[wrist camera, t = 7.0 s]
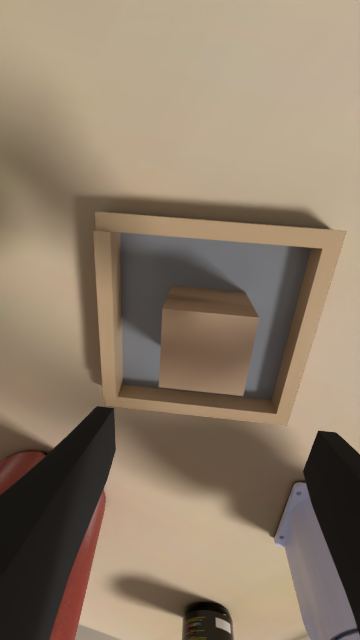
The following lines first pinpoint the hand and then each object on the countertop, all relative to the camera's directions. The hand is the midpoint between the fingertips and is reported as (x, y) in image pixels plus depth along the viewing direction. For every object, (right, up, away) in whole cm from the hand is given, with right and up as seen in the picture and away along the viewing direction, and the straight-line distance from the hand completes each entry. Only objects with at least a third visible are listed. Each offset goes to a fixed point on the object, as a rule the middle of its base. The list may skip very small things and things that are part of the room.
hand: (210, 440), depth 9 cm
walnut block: (+1, +4, +9) cm, 10 cm away
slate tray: (+1, +4, +10) cm, 10 cm away
